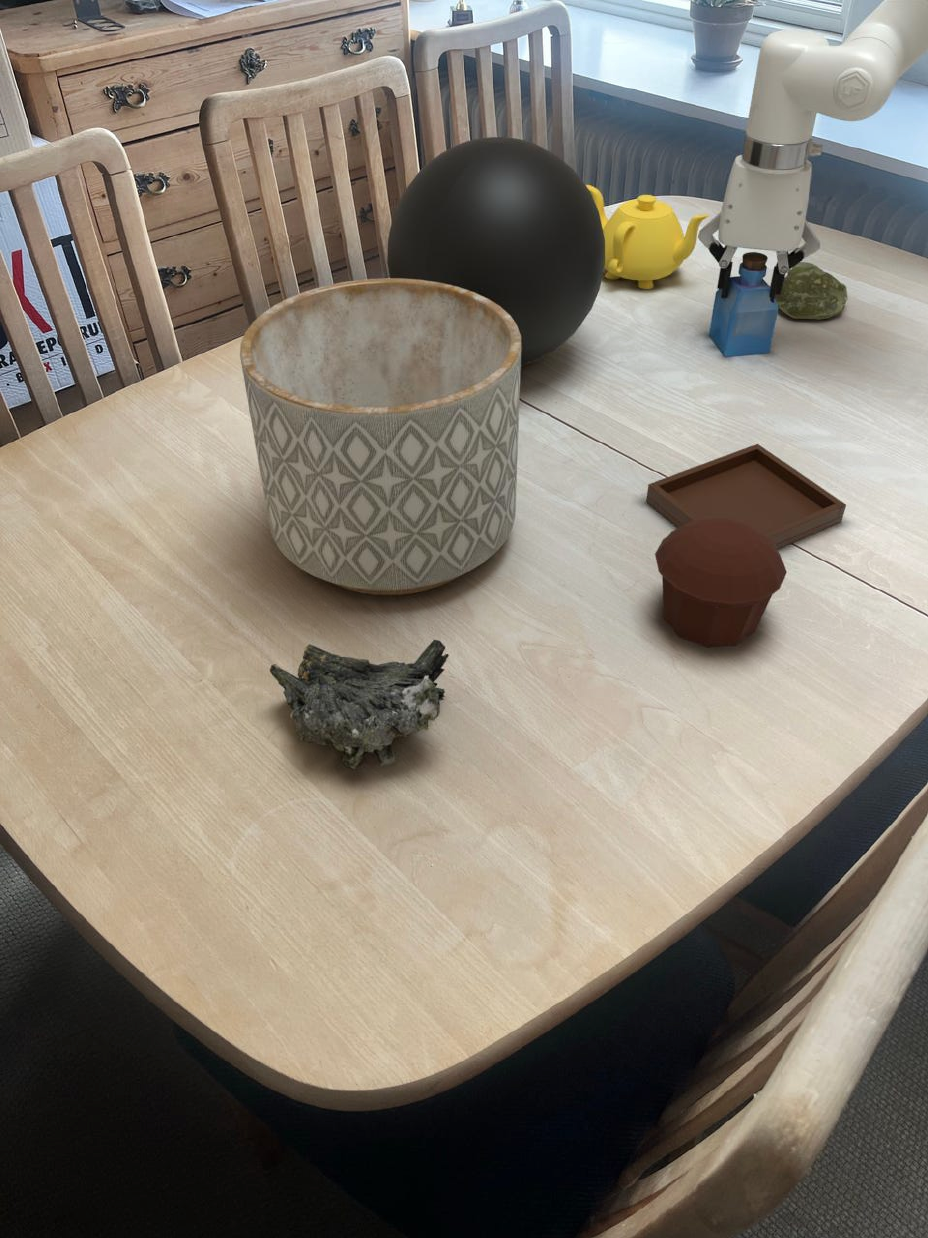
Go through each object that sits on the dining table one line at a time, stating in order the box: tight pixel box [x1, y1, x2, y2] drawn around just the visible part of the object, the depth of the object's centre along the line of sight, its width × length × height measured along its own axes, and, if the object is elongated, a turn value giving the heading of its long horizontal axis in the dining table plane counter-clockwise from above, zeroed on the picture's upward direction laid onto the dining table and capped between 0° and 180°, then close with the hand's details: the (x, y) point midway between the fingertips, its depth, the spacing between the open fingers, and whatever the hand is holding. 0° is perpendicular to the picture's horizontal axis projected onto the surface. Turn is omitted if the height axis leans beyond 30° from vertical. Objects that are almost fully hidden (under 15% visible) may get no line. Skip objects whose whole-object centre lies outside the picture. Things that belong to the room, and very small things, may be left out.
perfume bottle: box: [708, 251, 779, 358], centre depth 133 cm, size 6×6×12 cm
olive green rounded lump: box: [775, 261, 849, 320], centre depth 144 cm, size 10×7×10 cm
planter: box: [239, 277, 522, 596], centre depth 99 cm, size 26×26×22 cm
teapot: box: [585, 184, 710, 290], centre depth 148 cm, size 20×15×12 cm
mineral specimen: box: [269, 639, 450, 770], centre depth 85 cm, size 15×13×10 cm
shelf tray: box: [645, 443, 847, 550], centre depth 108 cm, size 16×14×2 cm
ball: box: [386, 136, 605, 367], centre depth 125 cm, size 27×27×27 cm
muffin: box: [654, 517, 788, 648], centre depth 94 cm, size 12×11×10 cm
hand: (747, 294), depth 132 cm, fingers closed on perfume bottle, 5 cm apart
